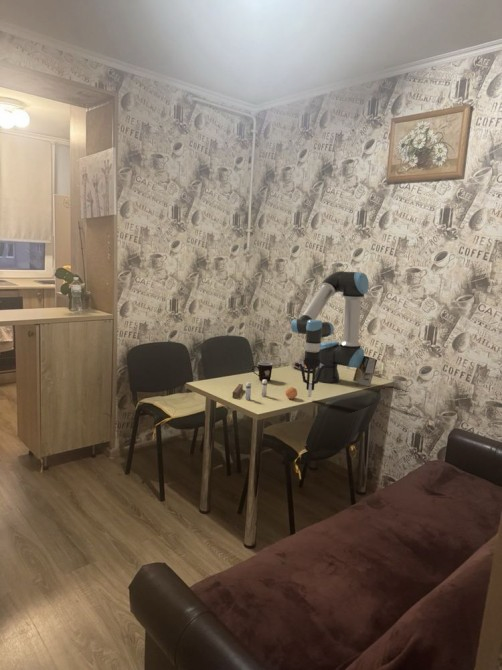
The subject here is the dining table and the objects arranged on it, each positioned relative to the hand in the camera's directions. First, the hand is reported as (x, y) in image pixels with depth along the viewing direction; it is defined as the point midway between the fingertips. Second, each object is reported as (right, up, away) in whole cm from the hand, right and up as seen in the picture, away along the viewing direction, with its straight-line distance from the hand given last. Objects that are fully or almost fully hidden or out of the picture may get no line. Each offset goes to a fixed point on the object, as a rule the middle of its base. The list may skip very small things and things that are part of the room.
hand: (309, 396), depth 236 cm
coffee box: (+34, +3, +33) cm, 48 cm away
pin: (-23, -1, +4) cm, 24 cm away
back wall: (-37, 0, +7) cm, 37 cm away
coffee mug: (-23, +5, +36) cm, 43 cm away
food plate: (+9, +9, +70) cm, 71 cm away
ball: (-9, +2, +2) cm, 10 cm away
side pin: (-31, -1, -2) cm, 31 cm away
